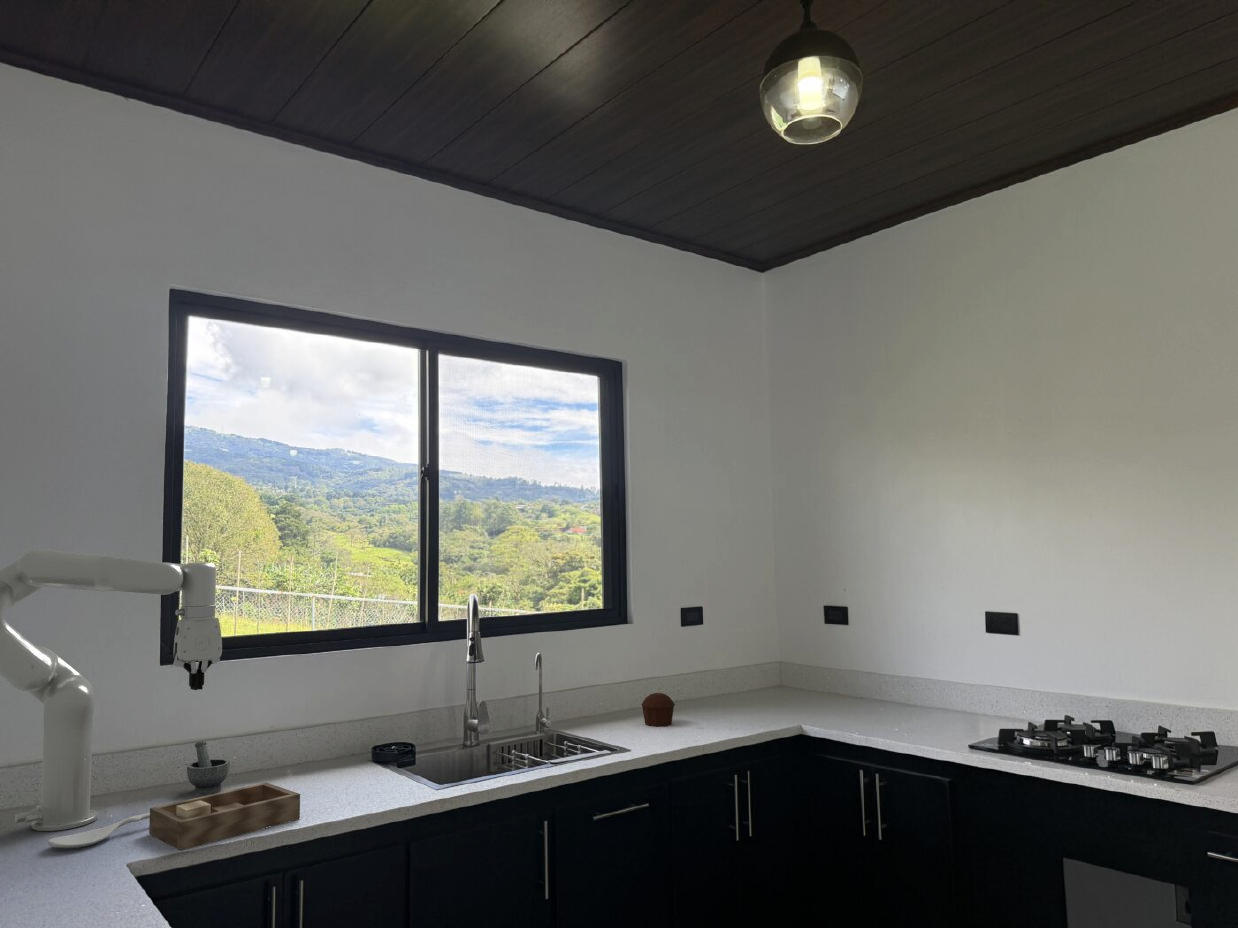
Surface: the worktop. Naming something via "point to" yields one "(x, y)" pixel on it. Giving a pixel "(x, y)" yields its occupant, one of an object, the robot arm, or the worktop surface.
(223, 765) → the mortar and pestle
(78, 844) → the spoon
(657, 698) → the muffin
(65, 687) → the robot arm
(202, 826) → the box
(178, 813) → the maple block
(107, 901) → the worktop surface
